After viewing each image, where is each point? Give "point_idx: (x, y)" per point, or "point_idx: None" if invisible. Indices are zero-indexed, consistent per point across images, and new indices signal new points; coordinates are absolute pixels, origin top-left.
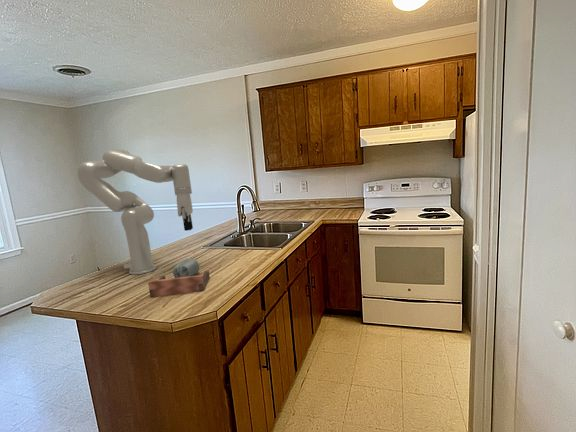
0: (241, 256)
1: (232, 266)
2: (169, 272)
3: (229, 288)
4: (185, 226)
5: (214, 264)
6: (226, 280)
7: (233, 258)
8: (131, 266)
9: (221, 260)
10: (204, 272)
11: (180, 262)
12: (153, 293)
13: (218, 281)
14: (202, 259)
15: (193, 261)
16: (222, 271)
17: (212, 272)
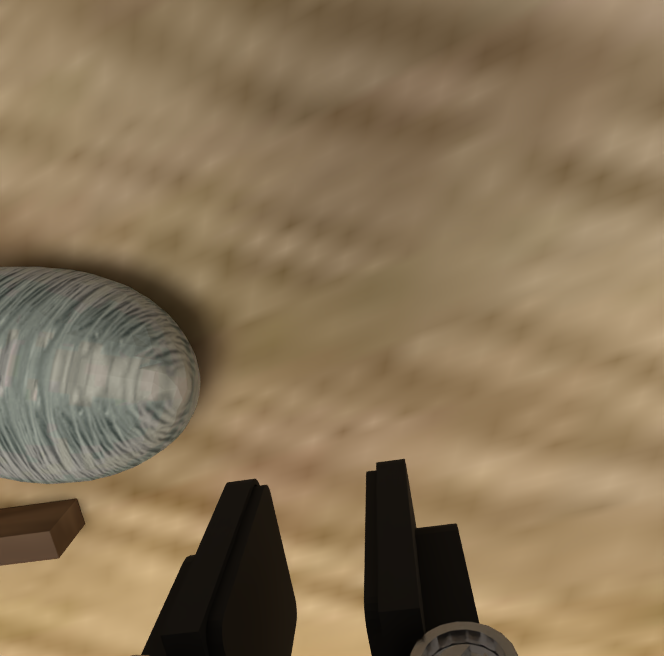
0: (609, 652)
1: (327, 631)
2: (244, 72)
3: None
4: (171, 595)
5: (418, 470)
6: (26, 650)
7: (565, 596)
8: None
9: (532, 503)
10: (21, 535)
11: None
12: None
13: (8, 604)
14: (638, 288)
15: (33, 475)
16: None
17: (198, 512)
